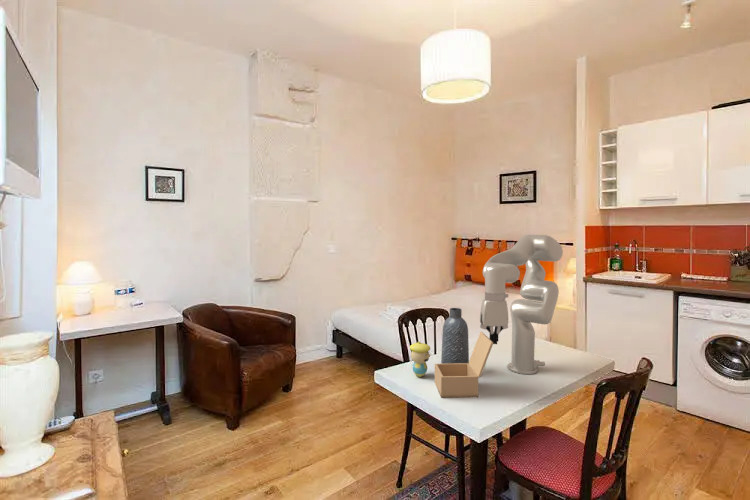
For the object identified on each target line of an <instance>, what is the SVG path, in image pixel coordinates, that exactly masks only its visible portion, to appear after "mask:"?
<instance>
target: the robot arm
mask: <svg viewBox="0 0 750 500" xmlns="http://www.w3.org/2000/svg"><path fill="white" fill-rule="evenodd" d="M563 253H564V250H563V248H562V245H561V243H559V242H558V241H557V240H556V239H554V238H553V237H551V236H550V235H547V234H545V235H544V234H525V235H523V236H521V237H520V238H519V240H518V241H517V242H516V243H515V244H514V245H513V246H512V247H511V248H510V249H509V248H508V249H506V250H504V251H501V252H499V253H497V254H495V255H493V256H491V257H490V258H489V259H488V260H487V261H486V262H485V264H484V265H483V268H482V276H483V278H484V299H482V300H481V306H480V314H479V322H480V326H479V327H480V329H483V330H486V331H488V333H489V339H490V340H491V341H492V342H493V345H498V342H499V335H500V333H501V332H502V331H503V330H506V329H508V328H509V311H510V317H511V362H509V363H508V364H507V369H508V370H509V371H511V372H514V373H515V374H516V373H517V374H519V375H520V374H521V375H533V374H534V375H535V374H536V373H538V371H539V368H538V367H545V366H546V362H545V361H540V360H539V359H536V360H535V345H536V344H535V343H536V342H535V340H536V338H535V337H536V331H535V328H534V326H533V324H537V325H538V324H539V325H548V324H550V322H551V321H552V319H553V316H554V312H555V309H556V306H557V302H558V298H559V295H560V294H559V286H558V284H557V283H556V282H555V281H552V280H545V277H546V274H547V273H546V271H545V268H544V267H543V266H542V264H540V262H554V263H555V262H558V261H560V260H561V259H562V257H563ZM524 265H525V274H524V277H523V279H522V282H521V286H520V290H519V294H520V296H521V297H522V298H517V299H514V300H513V301H512V302H511V304H510V307H509V309H508V303H507V300H506V298H509V293H506V284H513V283H515V282H517V281H518V280H519V279H520V276H521V275H520V274H521V271H520V269H519V266H524ZM532 323H533V324H532Z"/></svg>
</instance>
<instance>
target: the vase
mask: <svg viewBox="0 0 750 500" xmlns="http://www.w3.org/2000/svg"><path fill="white" fill-rule="evenodd" d="M462 311H463V310H462V308H460V307H451V308H449V316H448V317H447V318H446V319H445V321H444V323H443V325H442V334H441V335H442V337H441V355H440V356H441V361H440V362H441V363H440V364H453V363H469V360H470V353H469V351H470V348H469V328H468V323H467V322H466V320H465V319H464V318H463V317H462V315H463V313H462Z"/></svg>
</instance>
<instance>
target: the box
mask: <svg viewBox="0 0 750 500" xmlns="http://www.w3.org/2000/svg"><path fill="white" fill-rule="evenodd" d="M434 384H435V387H436V389H437V391H438V394H439V395H440V398H441V399H442V398H443V399H449V398H451V399H452V398H455V399H458V398H463V399H464V398H478V397H479V376H478V375H477V374H476V373H475V371H474V370H473V368H472V367H471V366H470V364H469V363H453V364H441V363H434Z"/></svg>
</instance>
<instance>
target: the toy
mask: <svg viewBox="0 0 750 500" xmlns="http://www.w3.org/2000/svg"><path fill="white" fill-rule="evenodd" d="M409 349H410V351H411V353H410V357H411V359H412V361H413V363H412V371H413V373H414V375H415V376H416V377H424V376H425V374H426V373H427V372H428V365H427V362H428V361H429V359H430V357H431V354H430V353H429V352H430V350H431V347H430V345H429V344H427V343H423V342H421V341H417V342H414V343H412V344H411V345H410V346H409Z"/></svg>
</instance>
